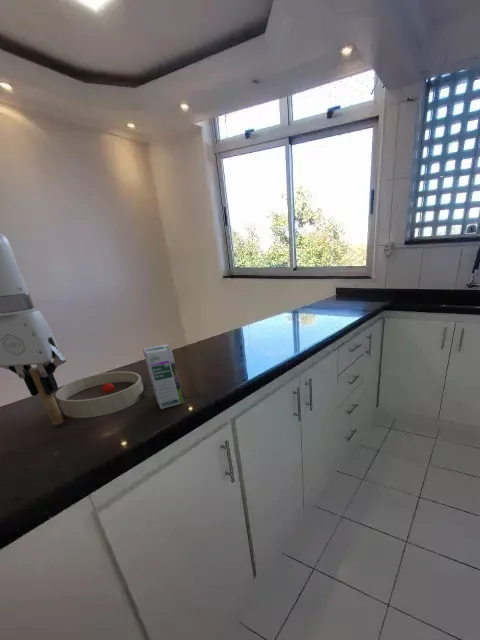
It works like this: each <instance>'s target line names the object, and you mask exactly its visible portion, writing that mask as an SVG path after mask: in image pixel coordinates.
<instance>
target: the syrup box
mask: <svg viewBox="0 0 480 640" xmlns="http://www.w3.org/2000/svg"><path fill="white" fill-rule="evenodd" d="M142 352H143V356H144V361H145V363H146V366H147V371H148V374H149V377H150V381H151V384H152V388H153V393H154V395H155V400H156V402H157V404H158V406H159V409H160V410H164V409H167V408H171V407H175V406H178V405H183V404H185V401H184V396H183V392H182V388H181V384H180V380H179V375H178V371H177V366H176V362H175V358H174V354H173V350H172V348H171V347H170V345H168V344H161V345H156V346H151V347H143V348H142Z"/></svg>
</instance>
